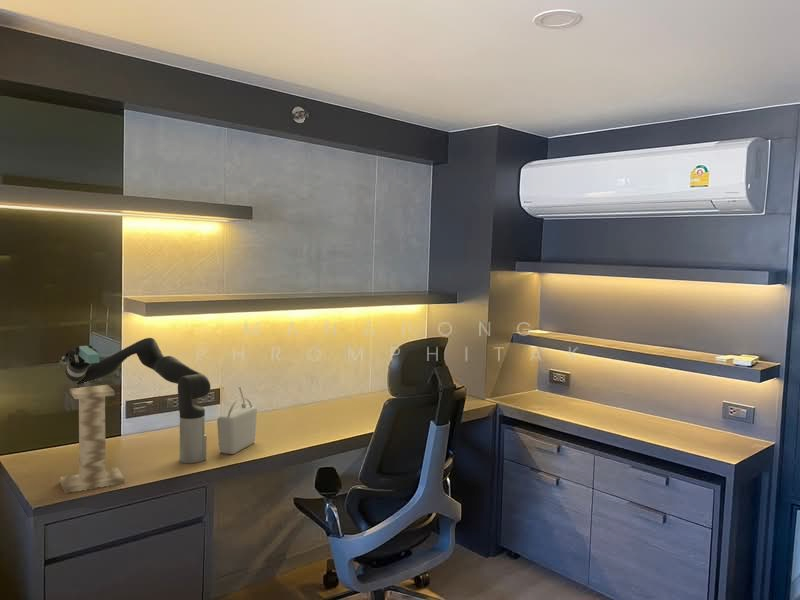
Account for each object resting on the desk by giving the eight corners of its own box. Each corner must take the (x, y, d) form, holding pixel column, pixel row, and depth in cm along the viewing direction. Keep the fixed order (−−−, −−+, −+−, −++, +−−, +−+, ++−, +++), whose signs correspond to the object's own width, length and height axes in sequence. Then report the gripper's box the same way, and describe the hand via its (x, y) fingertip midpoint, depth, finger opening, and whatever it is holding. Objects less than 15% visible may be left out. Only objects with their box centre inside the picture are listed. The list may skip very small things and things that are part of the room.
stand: (117, 473, 217) (116, 384, 215) (124, 483, 207) (124, 390, 205) (60, 482, 206) (59, 389, 204) (65, 493, 196) (64, 395, 195)
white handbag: (240, 439, 261) (241, 383, 260) (258, 441, 259) (258, 384, 258) (212, 454, 240) (213, 392, 239) (231, 456, 238) (231, 394, 237)
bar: (86, 353, 234) (86, 345, 234) (99, 362, 213) (99, 354, 213) (76, 354, 232) (76, 346, 232) (88, 363, 211) (88, 354, 211)
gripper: (57, 357, 238) (62, 339, 225) (96, 355, 246) (103, 337, 233) (59, 375, 235) (64, 358, 222) (98, 372, 243) (105, 355, 231)
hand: (84, 348), depth 228 cm, fingers closed on bar, 3 cm apart
